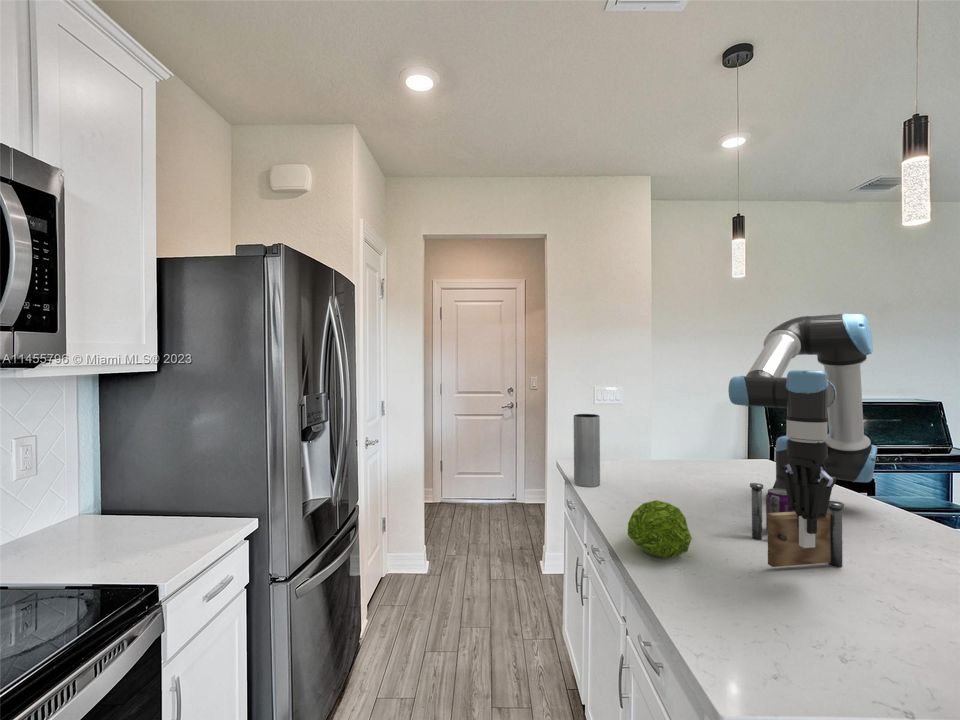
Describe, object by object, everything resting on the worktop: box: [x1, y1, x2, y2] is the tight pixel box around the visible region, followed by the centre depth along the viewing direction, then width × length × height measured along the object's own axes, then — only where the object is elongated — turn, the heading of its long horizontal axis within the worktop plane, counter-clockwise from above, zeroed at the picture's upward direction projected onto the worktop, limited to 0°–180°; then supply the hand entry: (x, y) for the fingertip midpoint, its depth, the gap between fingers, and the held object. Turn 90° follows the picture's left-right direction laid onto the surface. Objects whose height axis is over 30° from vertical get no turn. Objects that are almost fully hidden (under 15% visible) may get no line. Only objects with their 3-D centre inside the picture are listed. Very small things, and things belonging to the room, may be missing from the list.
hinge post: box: [827, 500, 845, 568], centre depth 115 cm, size 4×4×15 cm
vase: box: [573, 413, 601, 488], centre depth 190 cm, size 10×10×27 cm
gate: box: [767, 510, 831, 568], centre depth 113 cm, size 15×3×12 cm, turn 98°
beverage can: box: [765, 487, 795, 532], centre depth 135 cm, size 7×7×12 cm
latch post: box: [749, 482, 764, 541], centre depth 132 cm, size 3×3×15 cm
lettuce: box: [627, 499, 692, 559], centre depth 127 cm, size 15×24×14 cm, turn 156°
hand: (807, 546), depth 107 cm, fingers closed
